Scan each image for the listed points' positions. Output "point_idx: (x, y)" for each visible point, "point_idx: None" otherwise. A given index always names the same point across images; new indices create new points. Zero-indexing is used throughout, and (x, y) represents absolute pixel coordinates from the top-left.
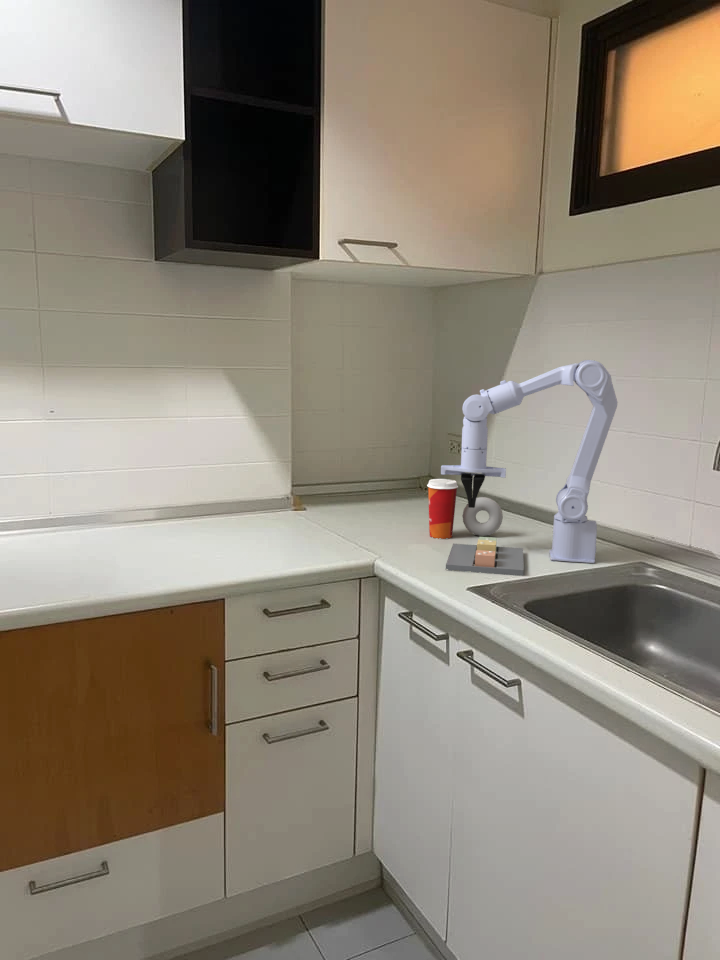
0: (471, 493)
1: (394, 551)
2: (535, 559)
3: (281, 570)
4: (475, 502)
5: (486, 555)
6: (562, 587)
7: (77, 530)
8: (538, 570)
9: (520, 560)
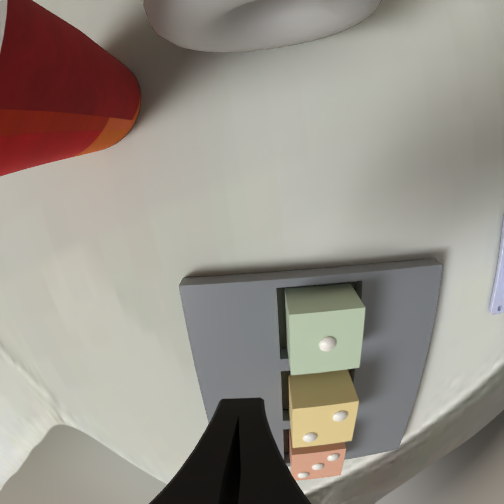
0: (233, 498)
1: (50, 352)
2: (456, 312)
3: (10, 455)
4: (265, 414)
5: (320, 477)
6: (443, 453)
7: None
8: (437, 396)
9: (410, 395)
